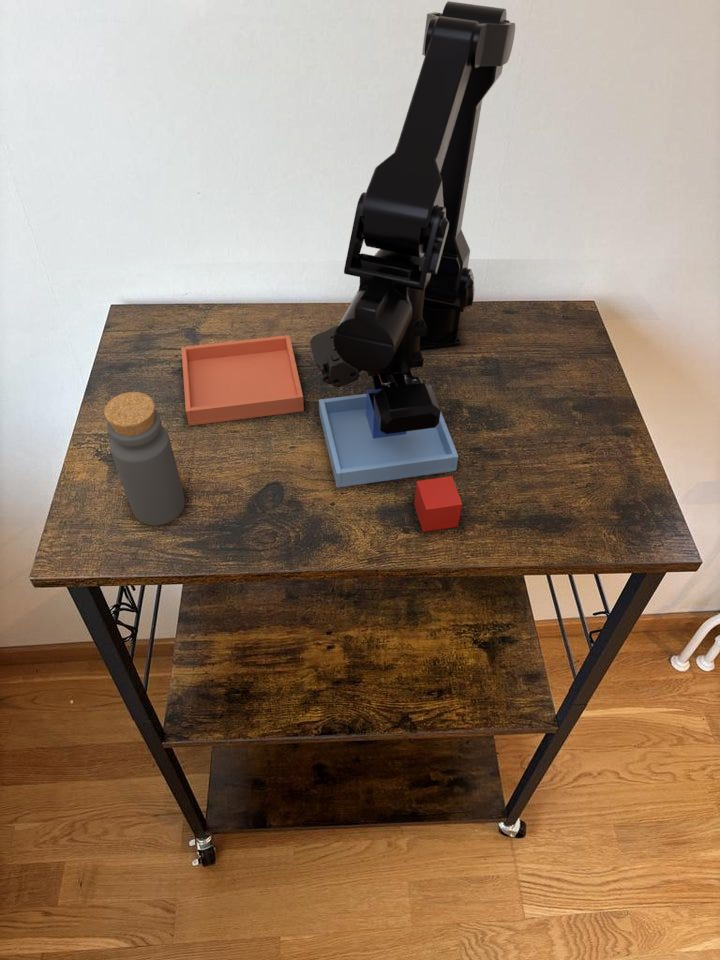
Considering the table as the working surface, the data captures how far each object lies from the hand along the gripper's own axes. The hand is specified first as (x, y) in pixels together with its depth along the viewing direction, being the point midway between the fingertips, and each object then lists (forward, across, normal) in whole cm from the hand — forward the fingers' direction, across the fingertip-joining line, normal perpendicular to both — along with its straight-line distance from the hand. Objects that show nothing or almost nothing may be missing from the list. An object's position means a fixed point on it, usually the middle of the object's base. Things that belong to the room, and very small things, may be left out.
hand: (387, 418), depth 86 cm
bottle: (+4, +5, -27) cm, 28 cm away
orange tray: (+4, -13, -16) cm, 21 cm away
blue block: (+1, 0, 0) cm, 1 cm away
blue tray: (+4, 0, 0) cm, 4 cm away
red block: (+4, +12, +3) cm, 13 cm away
